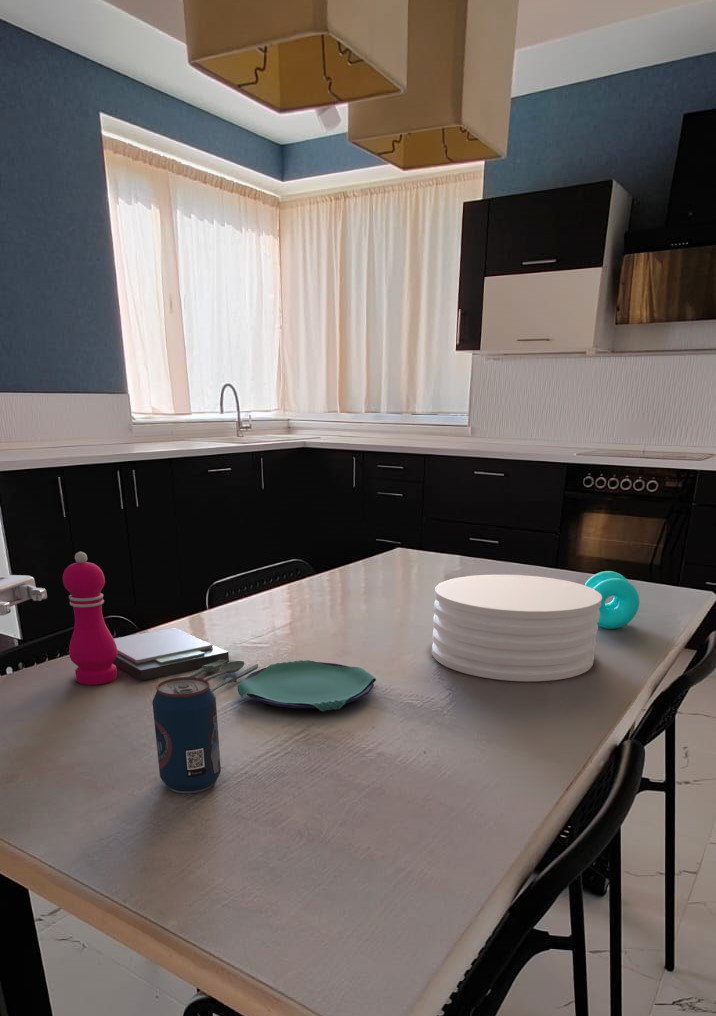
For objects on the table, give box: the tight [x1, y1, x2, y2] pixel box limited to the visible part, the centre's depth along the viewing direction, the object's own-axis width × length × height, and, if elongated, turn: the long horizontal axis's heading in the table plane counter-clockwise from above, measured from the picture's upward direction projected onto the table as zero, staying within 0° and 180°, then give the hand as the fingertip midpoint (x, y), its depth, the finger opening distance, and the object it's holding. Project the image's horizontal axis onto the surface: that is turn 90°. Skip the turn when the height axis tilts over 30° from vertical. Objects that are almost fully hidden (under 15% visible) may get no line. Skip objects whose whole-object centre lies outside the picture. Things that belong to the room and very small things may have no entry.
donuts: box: [584, 570, 640, 630], centre depth 154 cm, size 10×10×10 cm
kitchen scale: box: [112, 627, 230, 682], centre depth 132 cm, size 18×16×2 cm
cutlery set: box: [184, 659, 377, 712], centre depth 119 cm, size 20×30×2 cm, turn 66°
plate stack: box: [431, 574, 602, 682], centre depth 134 cm, size 28×28×12 cm
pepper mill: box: [62, 551, 118, 686], centre depth 119 cm, size 7×7×20 cm
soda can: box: [152, 676, 222, 794], centre depth 87 cm, size 7×7×12 cm
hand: (26, 601), depth 121 cm, fingers open, 8 cm apart
